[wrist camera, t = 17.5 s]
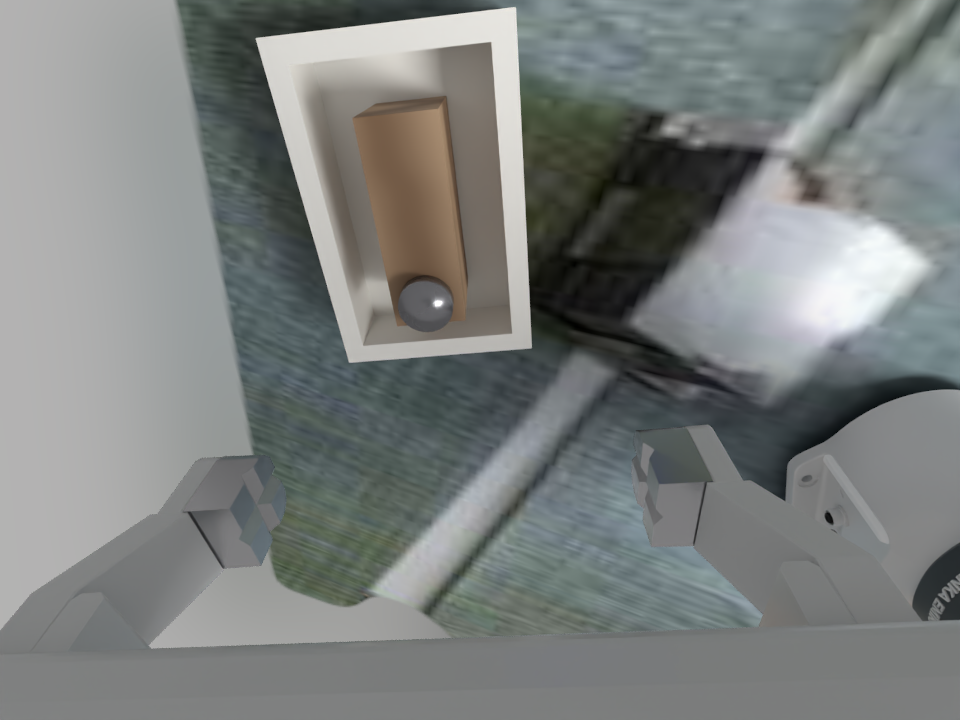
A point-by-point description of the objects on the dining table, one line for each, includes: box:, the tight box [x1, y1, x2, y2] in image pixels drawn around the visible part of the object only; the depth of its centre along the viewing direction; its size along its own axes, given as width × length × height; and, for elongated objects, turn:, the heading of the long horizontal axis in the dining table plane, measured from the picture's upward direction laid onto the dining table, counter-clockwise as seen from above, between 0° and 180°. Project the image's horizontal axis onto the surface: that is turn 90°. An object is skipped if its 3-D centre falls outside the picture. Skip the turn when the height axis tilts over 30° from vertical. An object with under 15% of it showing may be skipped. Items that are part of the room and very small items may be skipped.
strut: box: [352, 96, 468, 332], centre depth 28 cm, size 4×11×7 cm, turn 6°
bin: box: [256, 7, 532, 363], centre depth 29 cm, size 18×12×5 cm, turn 6°
